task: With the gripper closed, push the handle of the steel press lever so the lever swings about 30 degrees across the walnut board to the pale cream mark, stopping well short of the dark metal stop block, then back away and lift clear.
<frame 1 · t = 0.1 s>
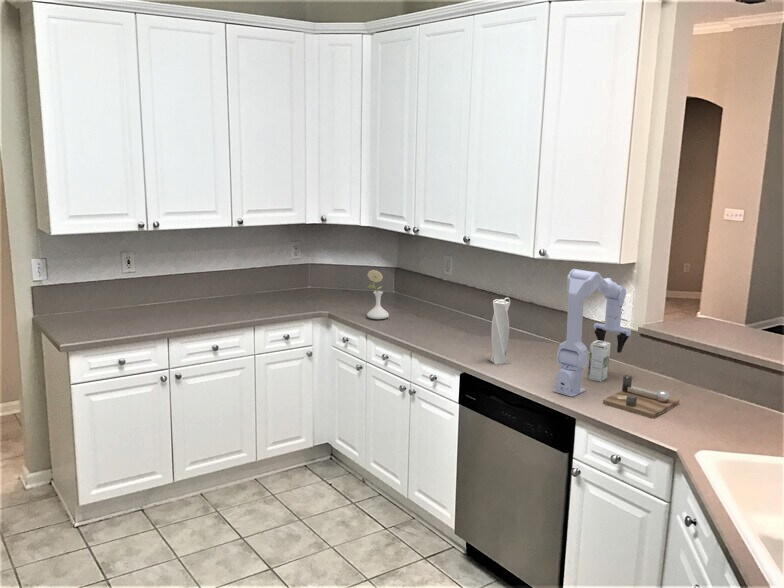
hand: (610, 349, 260), 10 cm above the worktop, tool pointing down, fingers open, 7 cm apart
flower in vase: (376, 318, 346), on the worktop
skyscraper: (499, 363, 276), on the worktop
syrup box: (597, 379, 257), on the worktop
press lever: (645, 388, 234), point 4 cm above the worktop, hinge at 0.0°
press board: (641, 403, 231), on the worktop
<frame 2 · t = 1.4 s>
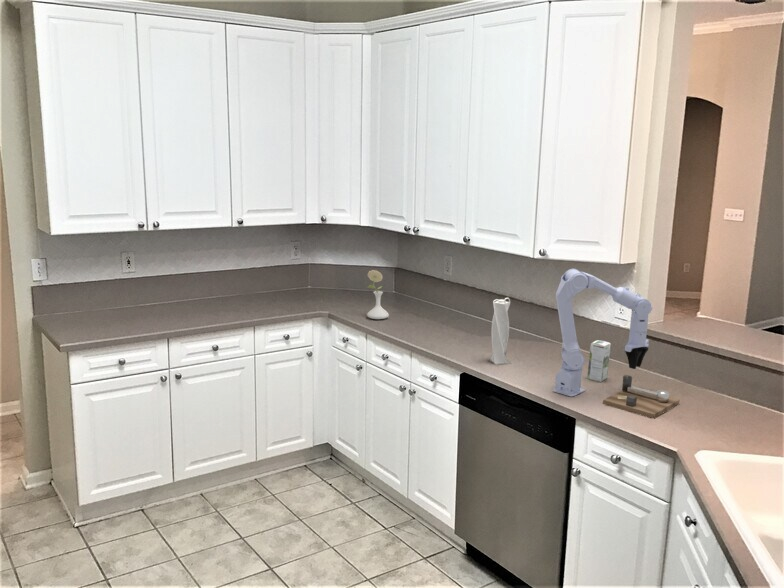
hand: (634, 367, 241), 9 cm above the worktop, tool pointing down, fingers open, 3 cm apart
nothing on the worktop moved.
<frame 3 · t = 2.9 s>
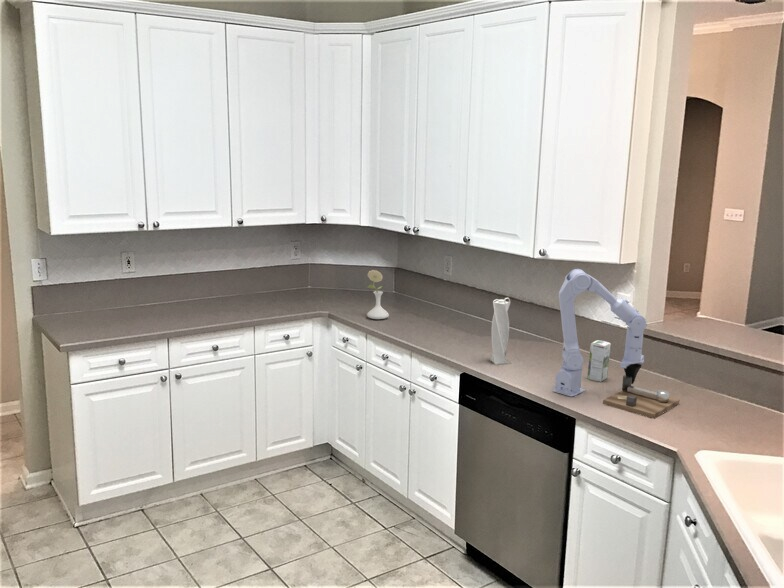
hand: (630, 383, 241), 4 cm above the worktop, tool pointing down, fingers closed
press lever: (645, 388, 234), point 4 cm above the worktop, hinge at 0.3°, touching gripper
everything else where it was.
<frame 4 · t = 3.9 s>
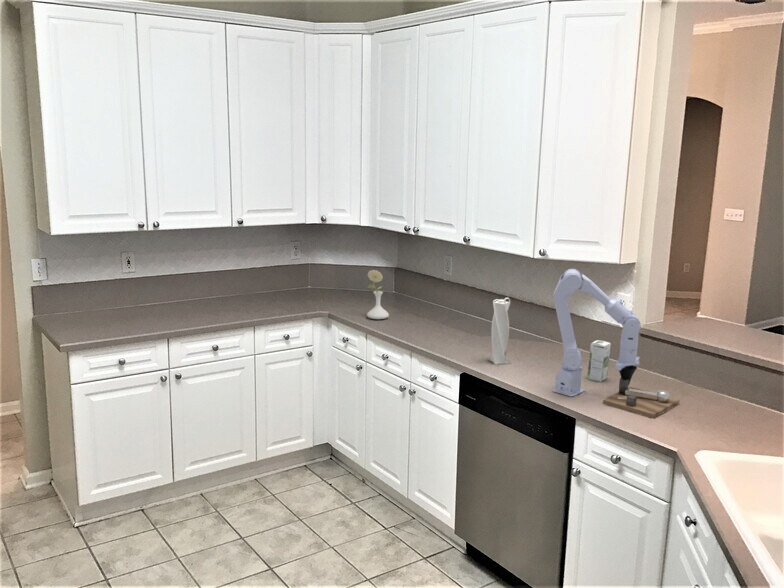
hand: (625, 385, 238), 4 cm above the worktop, tool pointing down, fingers closed
press lever: (643, 389, 232), point 4 cm above the worktop, hinge at 16.6°, touching gripper
everything else where it was.
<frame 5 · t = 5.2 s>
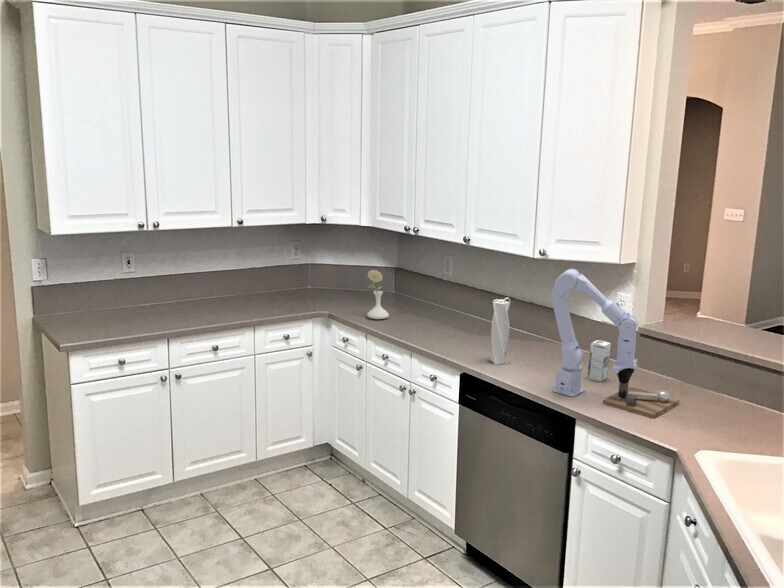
hand: (623, 388, 235), 4 cm above the worktop, tool pointing down, fingers closed
press lever: (643, 391, 231), point 4 cm above the worktop, hinge at 34.3°, touching gripper
everything else where it was.
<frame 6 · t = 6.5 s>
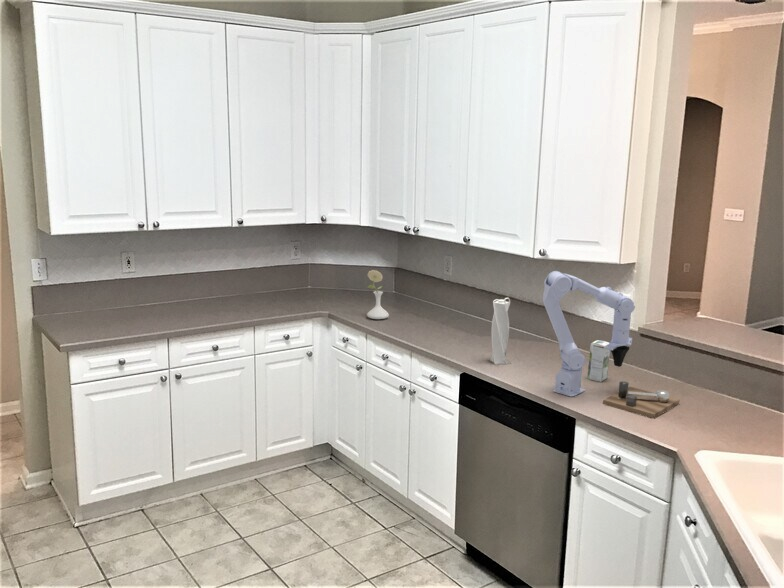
hand: (617, 365, 242), 9 cm above the worktop, tool pointing down, fingers closed
press lever: (643, 391, 231), point 4 cm above the worktop, hinge at 34.3°
everything else where it was.
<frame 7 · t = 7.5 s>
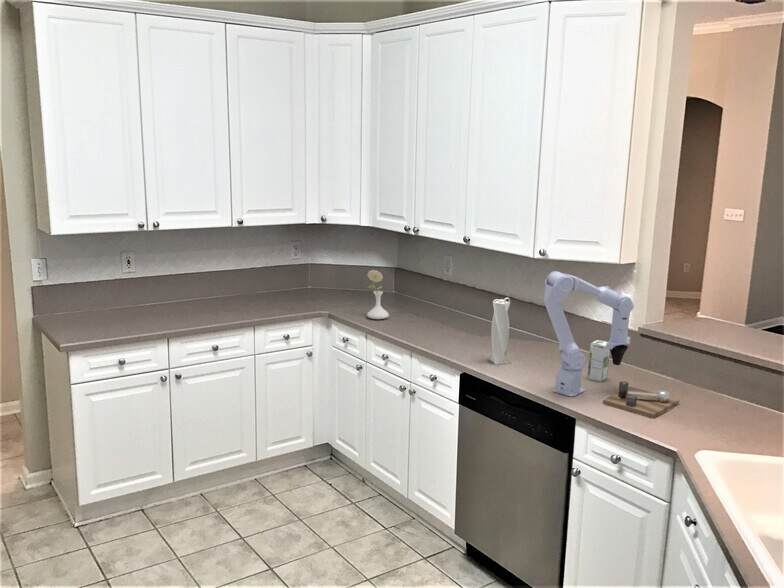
hand: (616, 364, 244), 9 cm above the worktop, tool pointing down, fingers closed
nothing on the worktop moved.
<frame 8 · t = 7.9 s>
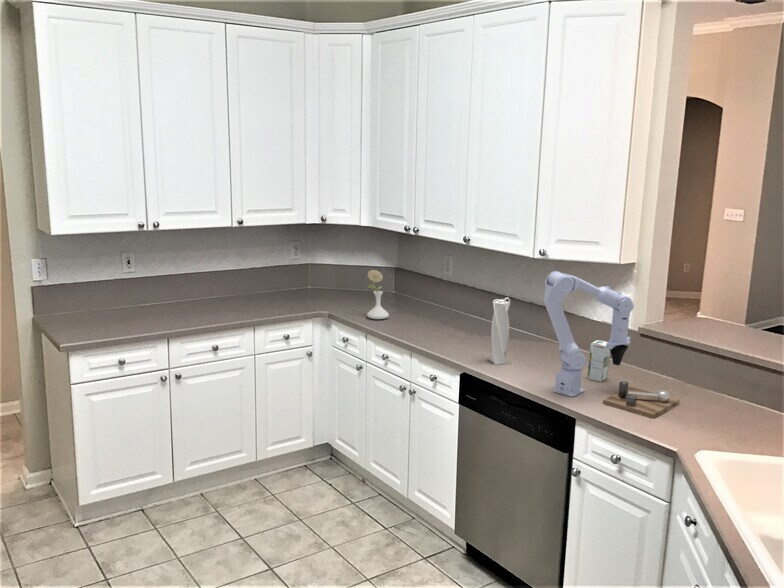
hand: (616, 364, 244), 9 cm above the worktop, tool pointing down, fingers closed
nothing on the worktop moved.
at the end: press lever at +34° (first picture: +0°) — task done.
